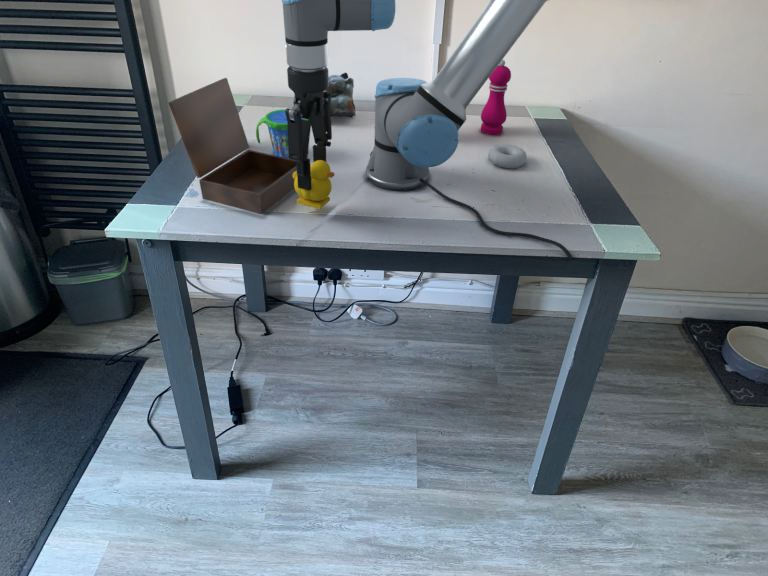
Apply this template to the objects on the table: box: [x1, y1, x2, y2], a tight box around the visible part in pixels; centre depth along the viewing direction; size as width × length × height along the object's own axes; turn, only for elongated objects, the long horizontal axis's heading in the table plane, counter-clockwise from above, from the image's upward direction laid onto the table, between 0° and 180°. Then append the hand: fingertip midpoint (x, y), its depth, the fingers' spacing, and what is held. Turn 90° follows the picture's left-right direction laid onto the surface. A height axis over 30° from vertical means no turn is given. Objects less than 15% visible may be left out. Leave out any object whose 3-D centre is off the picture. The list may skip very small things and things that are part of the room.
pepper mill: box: [480, 59, 512, 136], centre depth 156 cm, size 7×7×20 cm
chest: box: [199, 149, 297, 215], centre depth 126 cm, size 15×18×5 cm
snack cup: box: [255, 108, 308, 159], centre depth 141 cm, size 16×10×10 cm
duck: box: [293, 160, 335, 210], centre depth 116 cm, size 9×6×10 cm, turn 66°
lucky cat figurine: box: [325, 72, 357, 118], centre depth 164 cm, size 15×12×14 cm
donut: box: [487, 143, 528, 169], centre depth 144 cm, size 10×4×10 cm
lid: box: [167, 77, 250, 179], centre depth 123 cm, size 16×18×5 cm
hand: (312, 181), depth 116 cm, fingers closed on duck, 6 cm apart
